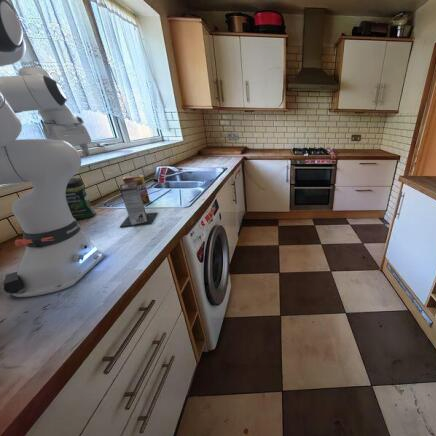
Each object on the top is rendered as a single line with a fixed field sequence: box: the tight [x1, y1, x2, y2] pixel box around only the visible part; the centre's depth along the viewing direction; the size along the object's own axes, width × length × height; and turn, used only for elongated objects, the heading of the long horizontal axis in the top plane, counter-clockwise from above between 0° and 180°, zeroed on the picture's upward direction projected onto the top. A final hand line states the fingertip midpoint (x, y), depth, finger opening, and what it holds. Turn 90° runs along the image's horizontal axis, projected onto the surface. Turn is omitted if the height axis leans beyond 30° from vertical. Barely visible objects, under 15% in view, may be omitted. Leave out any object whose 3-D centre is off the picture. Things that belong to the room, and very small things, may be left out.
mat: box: [119, 212, 158, 228], centre depth 105 cm, size 12×12×1 cm
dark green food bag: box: [66, 177, 96, 220], centre depth 104 cm, size 10×8×19 cm
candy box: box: [122, 174, 151, 205], centre depth 119 cm, size 9×4×15 cm, turn 123°
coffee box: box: [119, 183, 148, 225], centre depth 100 cm, size 9×6×16 cm
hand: (81, 157), depth 90 cm, fingers open, 8 cm apart
